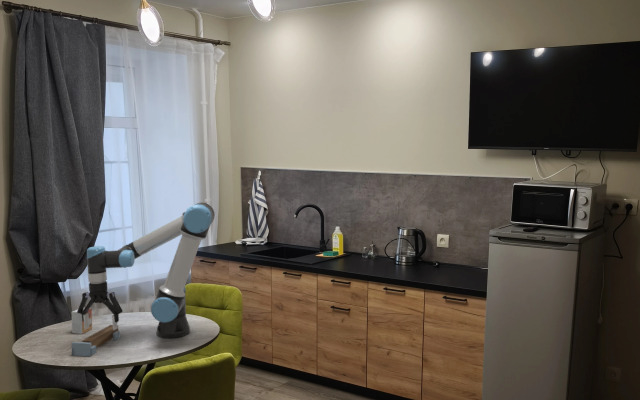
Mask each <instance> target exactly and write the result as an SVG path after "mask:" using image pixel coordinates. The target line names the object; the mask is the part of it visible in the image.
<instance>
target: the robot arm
mask: <svg viewBox="0 0 640 400" xmlns="http://www.w3.org/2000/svg"><path fill="white" fill-rule="evenodd" d="M215 215H216V214H215V211H214V208H213V207H212V206H211V205H210V204H208V203H206V202H197V203H195V204H192V205H191V206H189V207H188V208H187V209H186V211H184V212H182V214H181V216H179V217H177V218H176V219H173V220H171V221H170V222H168V223H166V224H164V225H162V226H160V227H158V228H157V229H154V230H152V231H151V232H149V233H148V234H145V235H143V236H141V237H139V238H138V239H135V240H134V241H131V242H130V243H128V244H125V245H123V246H122V247H121V248H119V249H117V250H106V248H105V246H102V245H97V246H91V247H88V248H87V249H86V261H87V262H86V263H87V277H88V278H87V279H88V290H89V292H88V291H85V292H83V293H82V299H81V302H80V304H79V306H78V308H77V309H78V311H77V313H80V314H81V315H82V321H83V322H84V330H86V329H88V328H89V315H88V313H87V311H88V310H89V309H90V308H92V306H93V305H94V304H97V303H98V304H103V305H105V307H107V309H108V310H109V311H110V312H111V314H112V315H111V318H112V319H111V320H112V325H113V330H116V329H117V328H118V329H119V324H118V323H119V321H120V319H119V318H120V317H119V316H120V314H122V313H123V309H122V307H121V306H120V303H119V302H118V299H117V298H116V296H115V295H116V294H115V292H114V291H112V292H108V281H107V280H108V278H107V269H116V268H117V269H118V268H119V269H121V268H132V267H133V266H134V264H135V260H136V259H138V258H140V257H141V256H143V255H146V254H147V253H149V252H151V251H153V250H155V249H157V248H159V247H161V246H163V245H164V244H166V243H168V242H171V241H172V240H174V239H176V238H178V237H180V239H179V243H178V245H177V247H176V251H175V254H174V256H173V260H172V262H171V265H170V267H169V271H168V274H167V276H166V278H165V282H164V284H163V285H160V286H159V289H158V291H157V294H156V297H155V299H154V300H153V302H152V304H151V307H150V311H151V312H150V313H151V315H152V317H153V318H154V320H156V321H158V324H157V328H156V336H157V337H160V338H163V339H176V338H181V337H184V336H187V335H189V334H190V333H191V332H190V331H191V327H190V324H189V320H188V317H187V316H186V315H187V312H186V311H187V307H186V305H187V304H186V301H187V300H186V292H187V291H186V283H187V281H188V278H189V275H190V273H191V269H192V267H193V264H194V262H195V259H196V255H197V253H198V250H199V247H200V245H201V242H202V241H203V240H205V239H206V237H208V236H207V235H208V232H209V230H210V228H211V225H212V223H214V219H215ZM89 297H90V299H89ZM88 299H89V301H88ZM87 301H88V303H87ZM83 309H84V310H83ZM86 313H87V314H86ZM189 332H190V333H189ZM188 333H189V334H188Z"/></svg>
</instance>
